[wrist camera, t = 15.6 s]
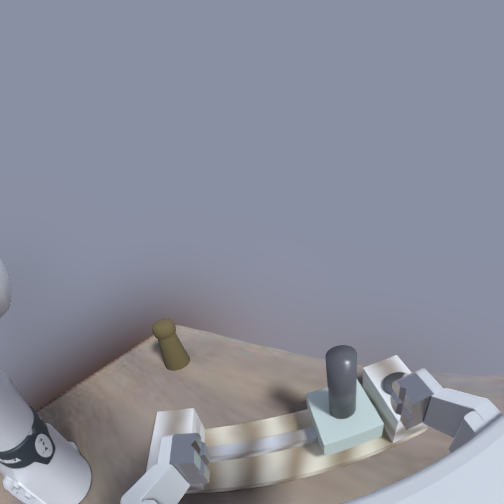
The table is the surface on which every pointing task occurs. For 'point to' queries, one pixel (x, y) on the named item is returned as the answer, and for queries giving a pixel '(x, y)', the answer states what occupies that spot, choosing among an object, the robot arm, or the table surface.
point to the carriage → (343, 405)
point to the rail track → (280, 459)
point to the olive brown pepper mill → (170, 345)
